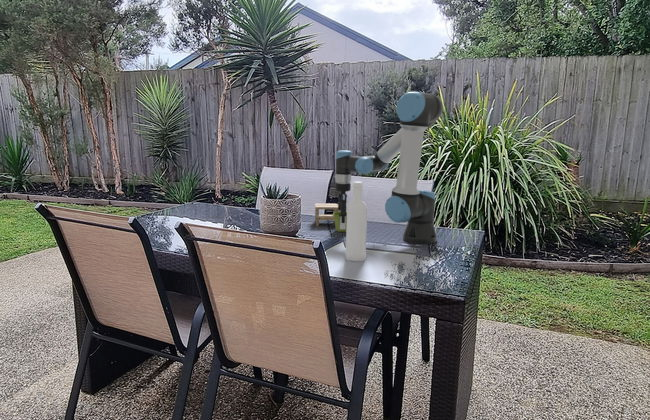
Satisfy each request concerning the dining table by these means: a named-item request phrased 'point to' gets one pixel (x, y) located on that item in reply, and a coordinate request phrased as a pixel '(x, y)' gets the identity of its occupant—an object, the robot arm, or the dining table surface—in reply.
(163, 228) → the dining table surface
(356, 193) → the bottle
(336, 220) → the plant pot
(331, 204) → the plant stand
